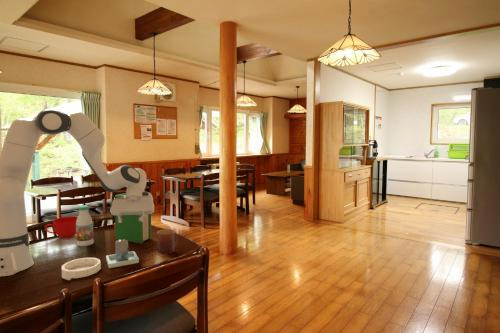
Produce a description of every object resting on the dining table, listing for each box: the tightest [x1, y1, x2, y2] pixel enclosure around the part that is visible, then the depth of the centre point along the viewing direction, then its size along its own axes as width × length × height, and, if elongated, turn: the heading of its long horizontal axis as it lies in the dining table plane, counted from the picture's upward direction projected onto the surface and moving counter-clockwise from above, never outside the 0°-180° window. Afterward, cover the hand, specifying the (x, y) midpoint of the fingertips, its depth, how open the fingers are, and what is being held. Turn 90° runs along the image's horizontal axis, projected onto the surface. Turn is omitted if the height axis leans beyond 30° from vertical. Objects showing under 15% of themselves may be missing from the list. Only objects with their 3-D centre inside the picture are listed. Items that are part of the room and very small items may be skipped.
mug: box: [156, 228, 176, 255], centre depth 153 cm, size 12×9×10 cm
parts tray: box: [105, 250, 140, 269], centre depth 139 cm, size 12×11×2 cm
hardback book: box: [114, 192, 152, 244], centre depth 170 cm, size 18×7×24 cm, turn 69°
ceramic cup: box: [44, 216, 78, 240], centre depth 174 cm, size 13×17×10 cm
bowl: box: [61, 257, 102, 281], centre depth 129 cm, size 14×14×4 cm
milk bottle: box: [75, 205, 95, 247], centre depth 163 cm, size 8×8×20 cm
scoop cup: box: [114, 239, 129, 262], centre depth 139 cm, size 5×5×10 cm
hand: (130, 221), depth 150 cm, fingers open, 8 cm apart
